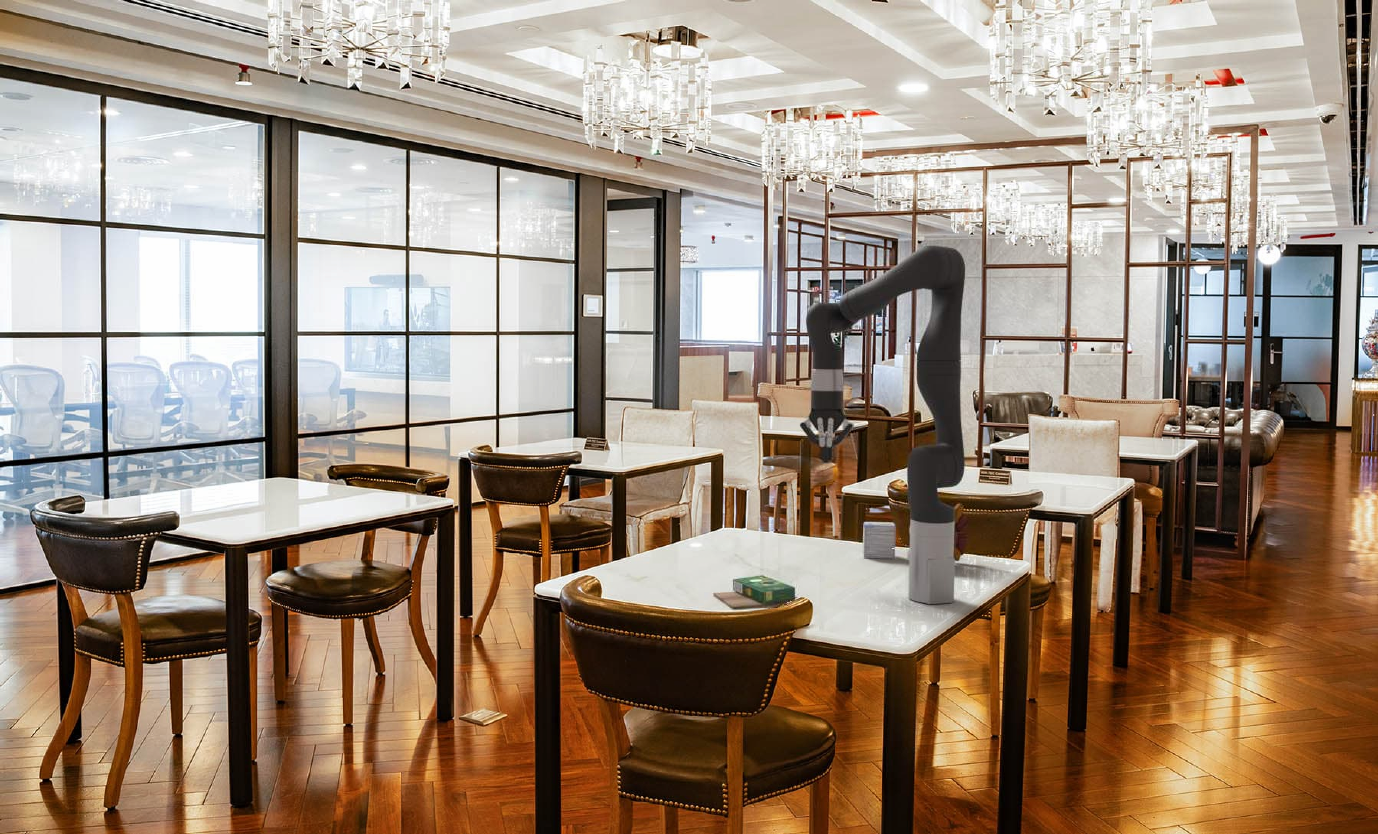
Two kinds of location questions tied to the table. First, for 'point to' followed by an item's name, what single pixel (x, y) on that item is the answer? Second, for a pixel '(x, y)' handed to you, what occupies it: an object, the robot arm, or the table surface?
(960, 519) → the mug
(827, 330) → the robot arm
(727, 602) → the board
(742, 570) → the table surface
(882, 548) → the medicine box
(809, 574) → the table surface
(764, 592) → the coffee box
